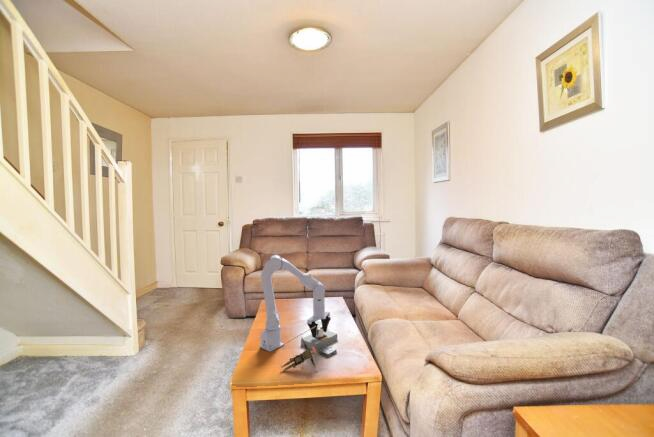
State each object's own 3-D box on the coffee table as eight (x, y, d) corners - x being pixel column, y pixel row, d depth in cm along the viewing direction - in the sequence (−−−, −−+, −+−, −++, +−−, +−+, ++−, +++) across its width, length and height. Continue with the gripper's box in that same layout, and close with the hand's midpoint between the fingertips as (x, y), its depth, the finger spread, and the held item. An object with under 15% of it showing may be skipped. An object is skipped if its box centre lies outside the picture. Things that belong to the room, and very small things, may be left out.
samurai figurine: (292, 386, 127) (334, 361, 130) (288, 387, 118) (333, 361, 121) (277, 349, 133) (317, 327, 137) (272, 348, 125) (315, 324, 128)
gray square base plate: (328, 357, 135) (328, 354, 135) (318, 353, 139) (318, 350, 139) (336, 352, 139) (336, 349, 139) (326, 348, 143) (326, 345, 143)
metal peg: (313, 342, 150) (313, 328, 150) (319, 340, 153) (319, 326, 153) (319, 344, 147) (319, 330, 147) (325, 342, 150) (324, 328, 150)
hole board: (315, 351, 141) (315, 344, 141) (300, 345, 148) (300, 338, 148) (337, 339, 153) (337, 333, 153) (322, 334, 160) (322, 328, 160)
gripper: (314, 312, 142) (315, 341, 142) (334, 304, 153) (334, 331, 153) (304, 309, 146) (304, 337, 147) (324, 302, 157) (324, 328, 158)
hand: (319, 334), depth 150 cm, fingers open, 7 cm apart
